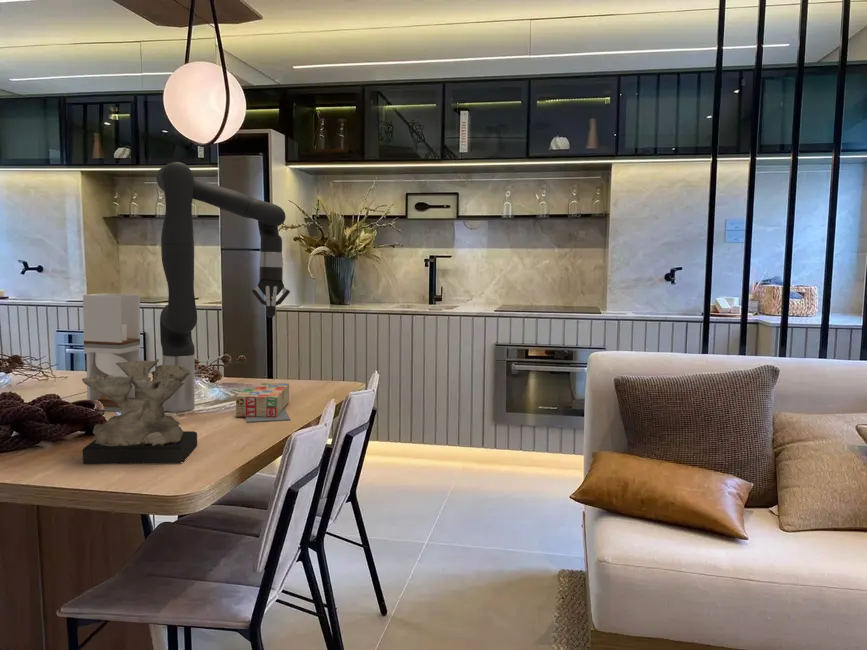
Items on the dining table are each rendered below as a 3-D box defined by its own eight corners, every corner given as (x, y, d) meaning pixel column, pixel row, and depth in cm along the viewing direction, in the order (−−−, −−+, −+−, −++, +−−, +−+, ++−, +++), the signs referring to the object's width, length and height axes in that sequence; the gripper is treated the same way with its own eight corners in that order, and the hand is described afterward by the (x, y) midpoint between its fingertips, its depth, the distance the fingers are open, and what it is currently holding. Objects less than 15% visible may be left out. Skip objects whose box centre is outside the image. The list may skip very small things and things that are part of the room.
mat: (246, 422, 173) (246, 421, 173) (241, 404, 195) (241, 403, 195) (290, 420, 177) (290, 419, 177) (280, 402, 200) (280, 401, 199)
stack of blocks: (289, 401, 200) (252, 400, 199) (289, 383, 199) (252, 382, 198) (276, 417, 178) (234, 416, 178) (276, 397, 178) (234, 396, 177)
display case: (85, 409, 180) (83, 294, 177) (106, 401, 191) (104, 293, 188) (121, 411, 180) (119, 296, 176) (140, 403, 190) (139, 295, 187)
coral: (65, 464, 133) (63, 370, 131) (104, 438, 153) (103, 356, 151) (181, 464, 136) (181, 372, 134) (205, 439, 156) (205, 358, 154)
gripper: (290, 266, 205) (289, 316, 206) (250, 265, 200) (249, 316, 202) (292, 266, 198) (291, 318, 199) (251, 265, 193) (250, 318, 195)
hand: (270, 317), depth 200 cm, fingers closed
